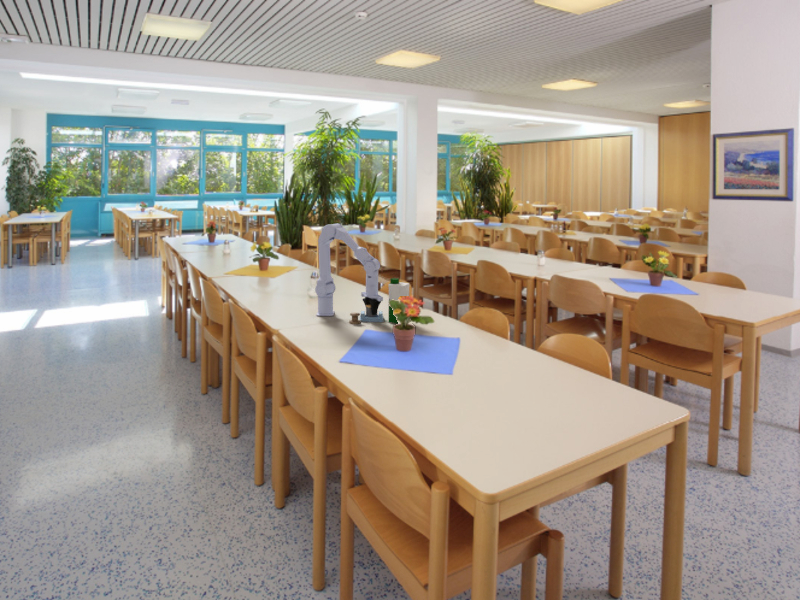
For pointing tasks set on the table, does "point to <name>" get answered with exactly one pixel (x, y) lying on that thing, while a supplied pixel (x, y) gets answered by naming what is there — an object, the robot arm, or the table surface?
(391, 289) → the soya milk
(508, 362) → the table surface
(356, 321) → the bobbin
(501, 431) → the table surface
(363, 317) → the blue square socket
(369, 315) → the orange and grey block
